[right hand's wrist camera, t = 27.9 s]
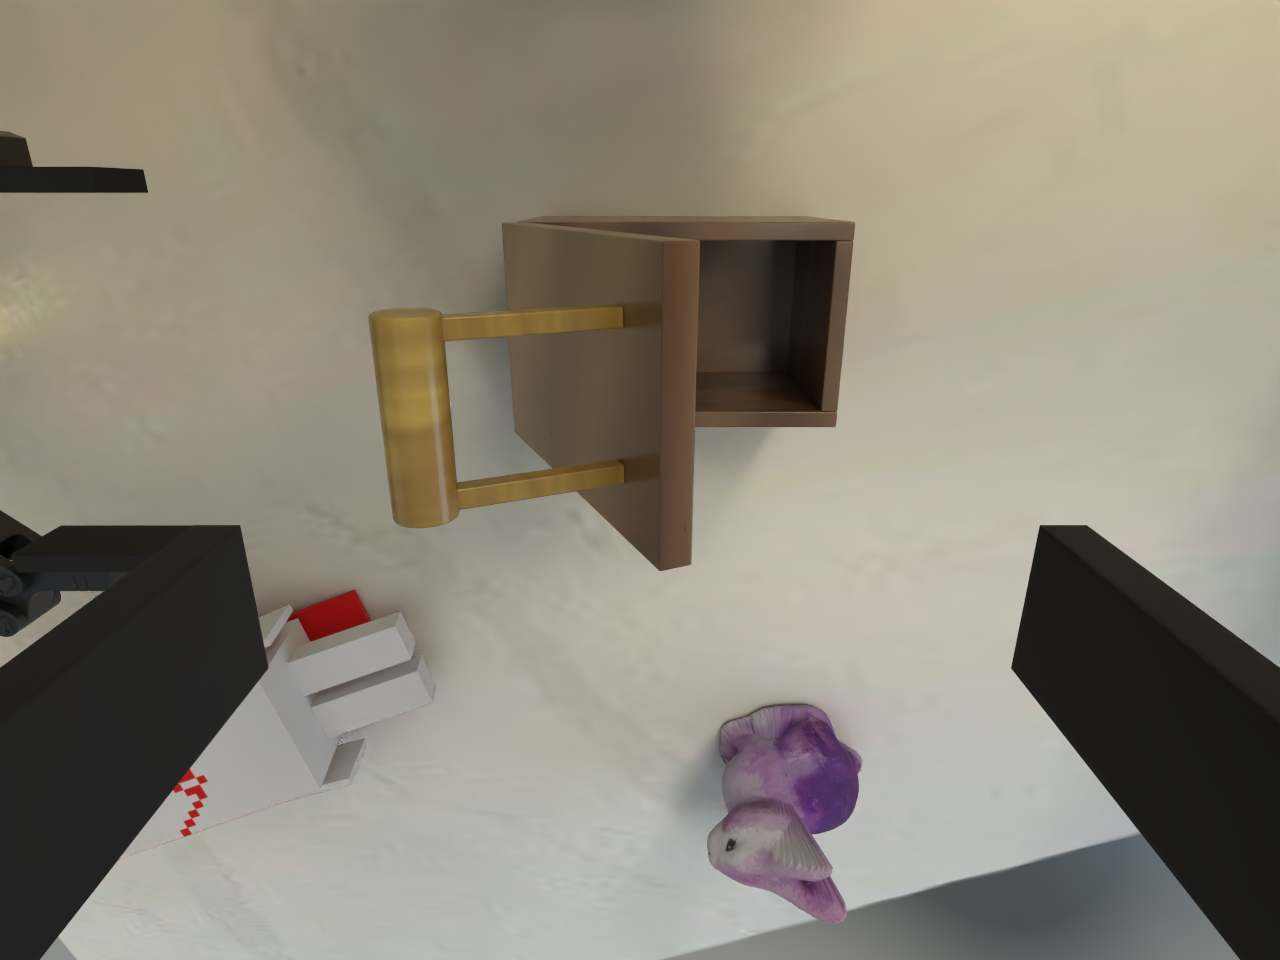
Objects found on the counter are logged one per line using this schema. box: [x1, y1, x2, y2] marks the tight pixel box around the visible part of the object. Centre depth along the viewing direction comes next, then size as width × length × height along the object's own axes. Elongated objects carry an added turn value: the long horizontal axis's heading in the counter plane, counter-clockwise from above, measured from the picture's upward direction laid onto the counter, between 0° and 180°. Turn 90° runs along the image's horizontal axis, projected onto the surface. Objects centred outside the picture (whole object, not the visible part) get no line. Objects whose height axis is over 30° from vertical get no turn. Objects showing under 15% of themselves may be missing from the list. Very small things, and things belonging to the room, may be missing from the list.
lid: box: [368, 222, 700, 571], centre depth 29 cm, size 17×10×9 cm
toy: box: [118, 590, 436, 860], centre depth 53 cm, size 12×13×30 cm
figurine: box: [707, 705, 862, 924], centre depth 53 cm, size 9×10×15 cm
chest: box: [520, 216, 855, 427], centre depth 43 cm, size 16×10×10 cm, turn 90°
